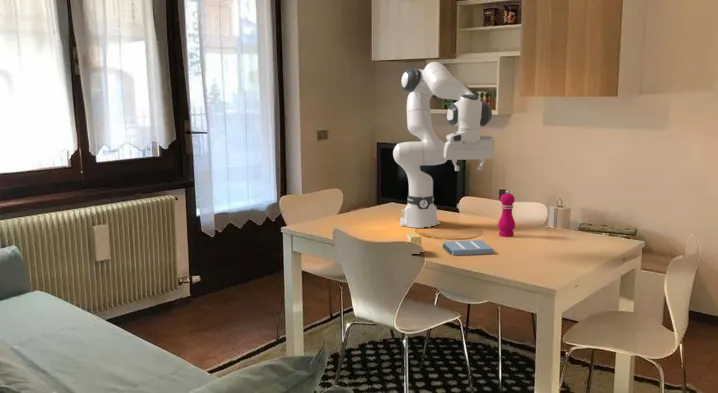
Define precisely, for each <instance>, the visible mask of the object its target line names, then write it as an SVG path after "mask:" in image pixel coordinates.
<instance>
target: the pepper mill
mask: <svg viewBox="0 0 718 393" xmlns="http://www.w3.org/2000/svg"><path fill="white" fill-rule="evenodd" d="M515 199H516V198H515V196H514V194H512V193H511V190H509V189H506V190H505V193H504V194H502V195H501V196H500V199H499V200H500V203H501V207H500V208H501V209H502V212H501V215H500V218H499V220H498V224H497V227H498V228H499V232H498V236H500V237H503V238H511V237H512V238H513V237H514V235H515V233H514V232H515V231H514V230H515V228H516V223H515V218H514V216H513V209H514V205H513V204H514V203H515Z"/></svg>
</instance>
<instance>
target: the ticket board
mask: <svg viewBox="0 0 718 393" xmlns="http://www.w3.org/2000/svg"><path fill="white" fill-rule="evenodd" d="M442 243H443V244H442V249H444V250H445V251H446V253H448V255H452V256H453V255H454V256H470V255H471V256H472V255H493V253H494V248H493V247H491V246H490V245H489V244H487V242H485V241H483V240H482V239H479V240H478V239H476V240H475V239H473V240H456V241H455V240H454V241H443V242H442Z"/></svg>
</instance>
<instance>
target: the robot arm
mask: <svg viewBox="0 0 718 393" xmlns="http://www.w3.org/2000/svg"><path fill="white" fill-rule="evenodd" d="M400 79H401V82H400V83H401V88H402V89H403V91H405V92H407V93H409V94H408V96H407V98H406V122H407V126H406V127H407V130H408V132H409V133H410V134H411V135H413V136H415V137H417V138H418V139H419V140H420V141H405V142H399V143H397V144H396V145H395V146H394V148H393V150H392V156H393V159H394V162H395V163H396V164H398V165H399V166H400V167H401V168H402V170H403V171H404V172H405V174H406V177H407V181H408V194H407V201H406V202H407V204H406V206H405V208H404V209H401V215H402V216H401V217H400V218H399V221H400V222H399V223H400V226H401V227H409V228H415V229H425V228H424V227H428V228H432V227H431V226H434V227H436V226H439V225H441V221H439V220H438V211H437V210H438V209H437V206H436V205H435V204H434V200H435V196H434V179H433V177H432V176H431V175H430V174H429V173H426V172H425V171H422V170H421V166H437V165H442V164H445V163H446V162H447V161H448V160H449V161H451V162H452V164H453V166H454V171H455V172H460V166H459V165H457V163H458V160H463V161H464V160H480V164H479V165H477V171H483V166H484V165H485V163H486V160H492V159H494V158H495V147H494V146H495V138H494V137H493V136H491V135H482V128H481V127H485V126H486V125H487V124H489V122H490V121H491V120H492V117H493V112H492V108H491V106H490V105H489V104H488V102H486V101H484V100H482V99H481V98H480V96H478V95H477V94H476V93H475V92H474V91H473V90H472V89H471V88H470V87H469V86H468V85H466V84H465V83H463V82H461V81H459V80H458V79H457V78H456V77H455V76H453V75H452V73H450V71H449V69H447V67H446V66H445V65H444V64H443V63H441V62H439V61H431V62H429V63H428V64H427V65H426V66H425V67H424V68H423V69H419V68H409V69H406V70H405V71H404V72H403V73H402V76H401V78H400ZM432 98H433V99H438V98H439V99H445V100H454V101H456V102H454V103H451V104H450V105H448V107H447V108H446V120H447V121H446V122H448V123H449V124H450V126H454V127H458V130H457V131H456V132H453V133H449V134H447V135H446V140H447V141H446V142H444V141H443V140H441V139H440V138H439V137H438V136H437V134H436V133H435V131H434V129H433V124H432V123H433V122H432V113H431V106H430V104H431V99H432ZM438 224H439V225H438ZM435 225H436V226H435Z"/></svg>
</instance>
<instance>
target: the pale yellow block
mask: <svg viewBox="0 0 718 393" xmlns="http://www.w3.org/2000/svg"><path fill="white" fill-rule="evenodd" d="M407 241H408V242H414V243H418V244H420V245H421V246H422V236H421V234H419V233H418V232H417V231H416V232H415V231H413V232H412V231H411V232H410V231H409V232H406V242H407Z"/></svg>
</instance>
